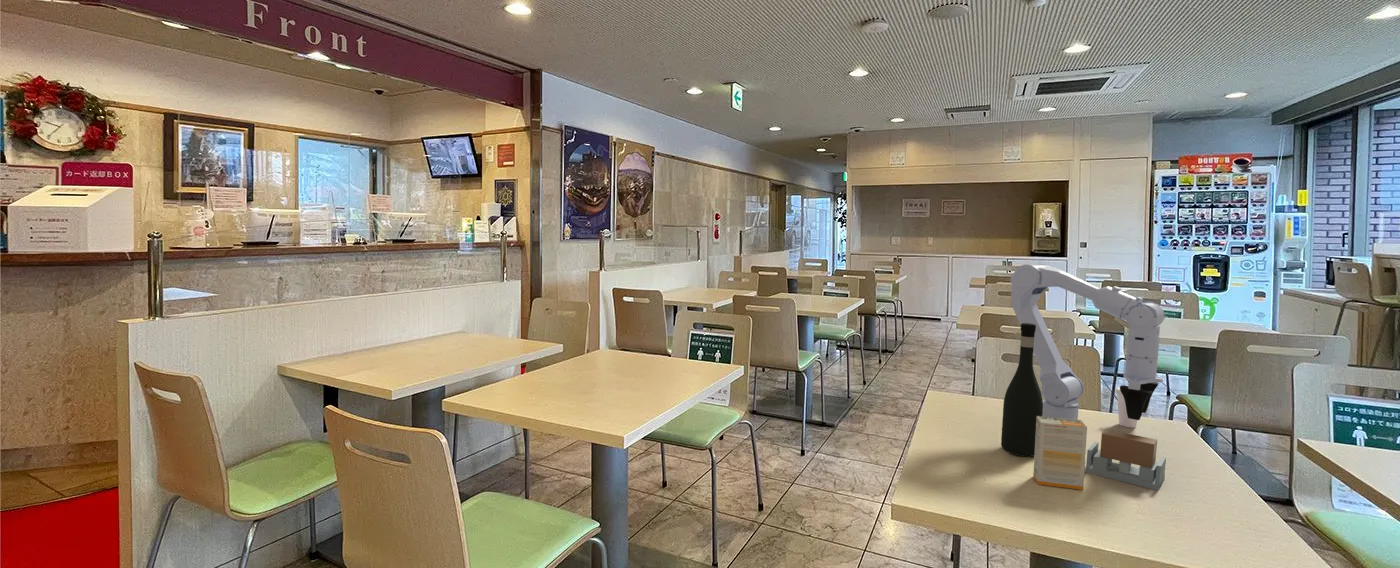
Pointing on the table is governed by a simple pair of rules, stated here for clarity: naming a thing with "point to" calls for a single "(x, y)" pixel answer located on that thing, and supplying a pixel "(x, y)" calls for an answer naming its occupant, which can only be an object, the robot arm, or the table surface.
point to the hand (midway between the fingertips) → (1136, 415)
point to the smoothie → (1123, 411)
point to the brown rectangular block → (1128, 448)
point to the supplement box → (1060, 452)
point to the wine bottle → (1022, 401)
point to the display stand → (1125, 470)
